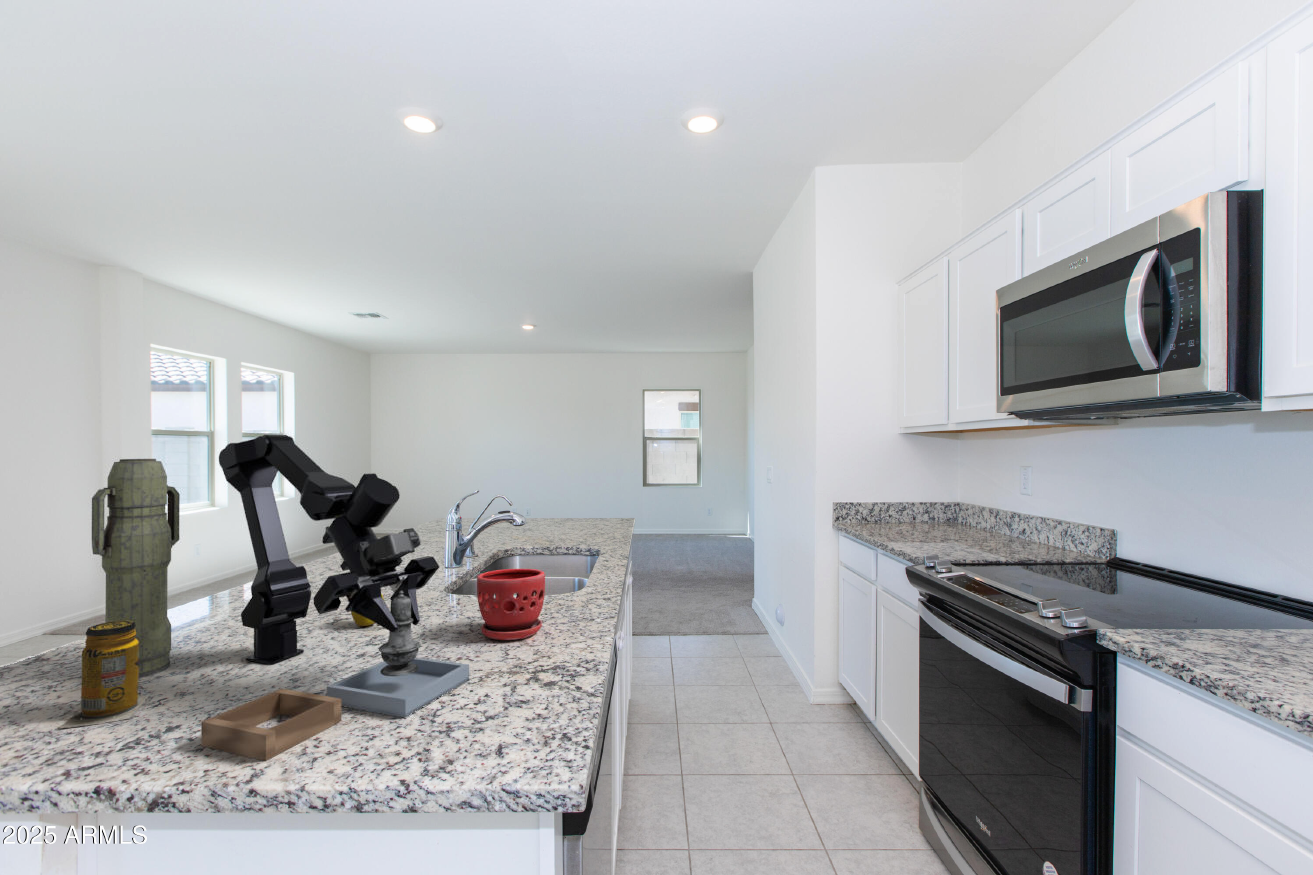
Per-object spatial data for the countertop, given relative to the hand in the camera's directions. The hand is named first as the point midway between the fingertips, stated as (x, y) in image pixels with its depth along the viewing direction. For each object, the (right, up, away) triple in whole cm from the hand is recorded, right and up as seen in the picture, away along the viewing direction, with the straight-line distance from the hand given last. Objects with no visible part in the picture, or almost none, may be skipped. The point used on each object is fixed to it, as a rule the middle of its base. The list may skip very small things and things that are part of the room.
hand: (406, 626), depth 92 cm
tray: (-1, -10, 0) cm, 10 cm away
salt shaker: (-1, -7, 0) cm, 7 cm away
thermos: (-49, -10, +10) cm, 51 cm away
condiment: (-39, -10, -6) cm, 41 cm away
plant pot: (+9, -10, +29) cm, 32 cm away
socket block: (-12, -10, -13) cm, 20 cm away
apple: (-22, -11, +34) cm, 42 cm away
